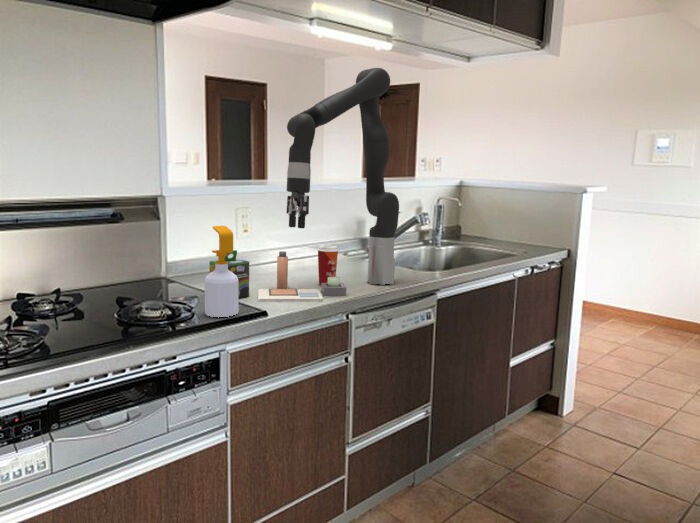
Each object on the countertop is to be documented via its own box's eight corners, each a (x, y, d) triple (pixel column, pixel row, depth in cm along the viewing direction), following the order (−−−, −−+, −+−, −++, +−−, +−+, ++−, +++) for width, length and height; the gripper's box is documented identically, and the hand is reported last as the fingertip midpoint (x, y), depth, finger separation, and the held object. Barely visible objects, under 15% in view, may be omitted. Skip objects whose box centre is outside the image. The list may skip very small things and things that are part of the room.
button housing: (342, 291, 193) (343, 282, 193) (346, 296, 186) (346, 287, 185) (321, 291, 192) (321, 282, 191) (323, 296, 185) (323, 287, 184)
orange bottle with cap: (287, 287, 197) (287, 251, 195) (287, 289, 194) (288, 252, 192) (276, 287, 197) (277, 251, 194) (277, 289, 193) (277, 252, 191)
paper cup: (333, 288, 198) (334, 248, 195) (312, 286, 200) (313, 246, 198) (341, 284, 205) (342, 245, 202) (321, 282, 207) (322, 244, 205)
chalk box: (231, 292, 187) (231, 247, 185) (250, 296, 181) (250, 250, 179) (208, 296, 180) (208, 249, 178) (227, 301, 174) (227, 253, 172)
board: (318, 291, 192) (318, 288, 192) (323, 301, 178) (323, 297, 178) (258, 291, 189) (258, 288, 189) (258, 301, 175) (258, 298, 175)
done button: (338, 288, 191) (339, 276, 190) (340, 290, 187) (340, 278, 186) (326, 288, 190) (327, 276, 190) (328, 290, 186) (328, 278, 186)
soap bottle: (227, 308, 165) (227, 224, 161) (244, 315, 159) (244, 227, 155) (199, 313, 160) (198, 225, 156) (215, 320, 153) (214, 228, 149)
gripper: (317, 177, 180) (315, 229, 181) (301, 179, 193) (299, 227, 194) (295, 175, 177) (293, 228, 178) (280, 177, 189) (278, 226, 191)
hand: (296, 227), depth 186 cm, fingers open, 8 cm apart
